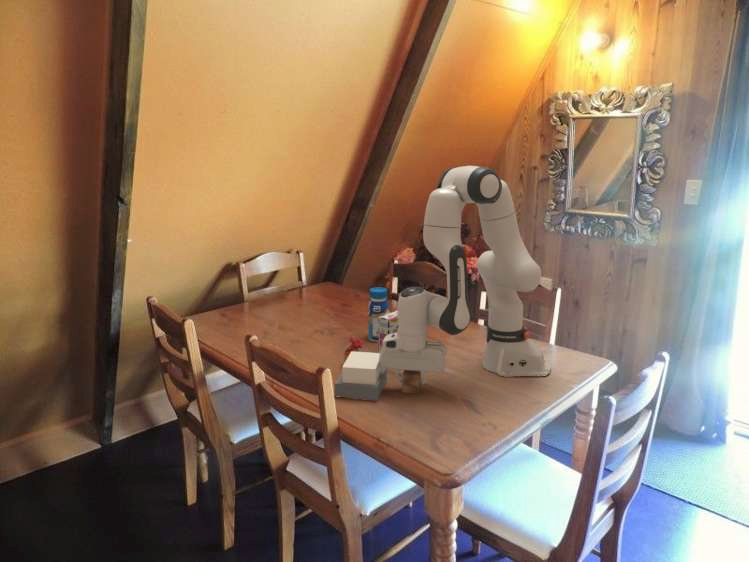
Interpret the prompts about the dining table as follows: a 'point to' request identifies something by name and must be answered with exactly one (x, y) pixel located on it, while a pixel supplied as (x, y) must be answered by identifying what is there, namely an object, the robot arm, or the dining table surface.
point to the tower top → (361, 368)
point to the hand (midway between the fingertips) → (411, 382)
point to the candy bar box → (386, 327)
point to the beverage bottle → (376, 310)
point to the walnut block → (411, 381)
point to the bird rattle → (352, 347)
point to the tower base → (361, 388)
